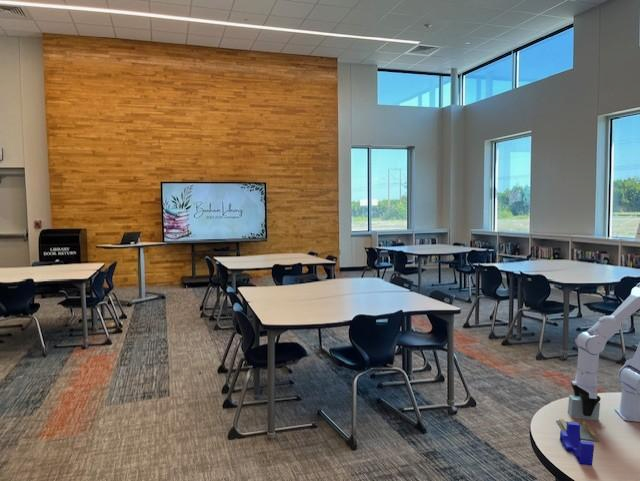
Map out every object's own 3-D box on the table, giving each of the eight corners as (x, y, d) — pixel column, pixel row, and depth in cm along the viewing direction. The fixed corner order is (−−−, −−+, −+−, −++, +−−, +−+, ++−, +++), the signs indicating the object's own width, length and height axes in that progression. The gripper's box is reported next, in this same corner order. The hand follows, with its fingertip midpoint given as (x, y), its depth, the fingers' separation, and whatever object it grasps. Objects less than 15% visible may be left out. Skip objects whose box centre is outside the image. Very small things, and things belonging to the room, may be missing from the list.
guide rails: (586, 425, 146) (587, 422, 145) (596, 438, 138) (596, 435, 138) (559, 422, 147) (559, 419, 147) (566, 435, 139) (566, 431, 139)
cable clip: (559, 440, 137) (561, 421, 137) (576, 442, 136) (578, 422, 136) (573, 464, 125) (575, 442, 125) (592, 466, 125) (594, 445, 124)
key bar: (594, 415, 153) (596, 397, 152) (598, 420, 150) (600, 402, 149) (567, 412, 155) (569, 394, 154) (571, 417, 151) (572, 399, 151)
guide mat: (587, 424, 146) (587, 424, 146) (599, 441, 137) (599, 440, 137) (556, 421, 148) (556, 420, 148) (565, 437, 139) (565, 436, 139)
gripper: (566, 360, 158) (563, 399, 160) (581, 377, 144) (577, 419, 146) (589, 362, 157) (586, 401, 158) (606, 380, 143) (602, 422, 144)
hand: (583, 410), depth 152 cm, fingers open, 6 cm apart
